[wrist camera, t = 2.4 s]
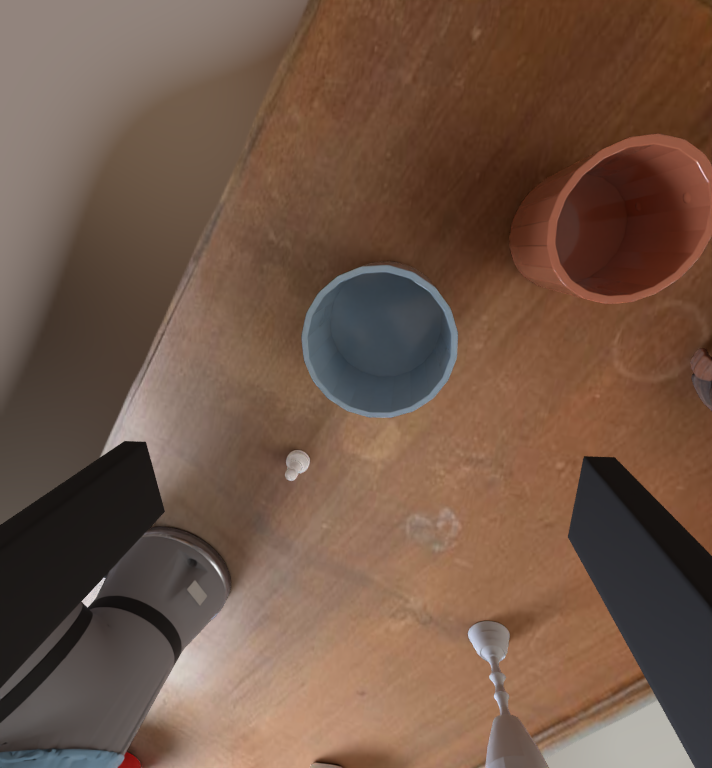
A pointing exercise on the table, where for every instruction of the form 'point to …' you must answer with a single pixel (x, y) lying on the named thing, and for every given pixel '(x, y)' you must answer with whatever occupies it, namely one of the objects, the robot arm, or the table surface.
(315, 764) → the power adapter
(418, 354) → the light blue round container
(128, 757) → the ceramic cup
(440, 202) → the table surface
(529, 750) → the chalice
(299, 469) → the chess pawn
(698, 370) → the pottery mug
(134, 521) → the robot arm
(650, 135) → the mug
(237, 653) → the table surface
